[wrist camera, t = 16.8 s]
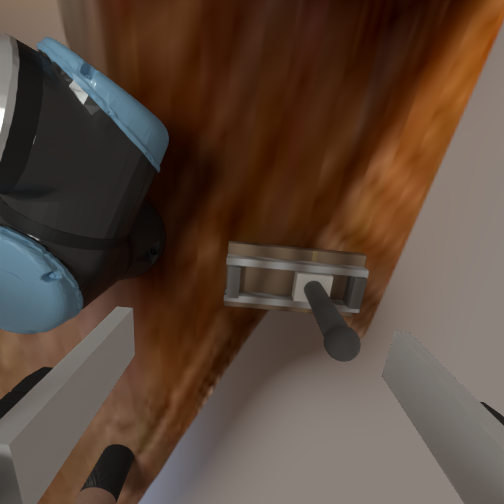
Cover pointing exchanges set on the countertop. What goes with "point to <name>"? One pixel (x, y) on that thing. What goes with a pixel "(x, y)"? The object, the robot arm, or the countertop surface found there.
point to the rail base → (291, 276)
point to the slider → (326, 314)
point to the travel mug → (107, 477)
